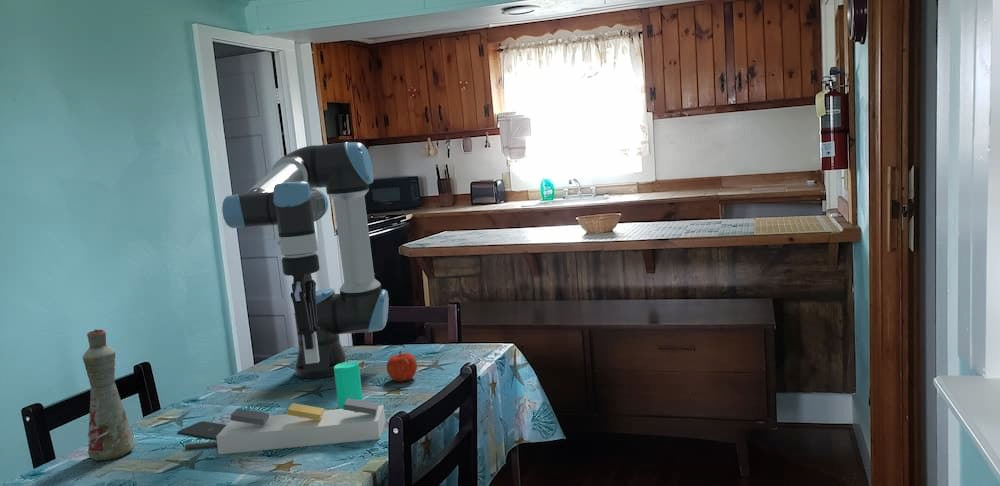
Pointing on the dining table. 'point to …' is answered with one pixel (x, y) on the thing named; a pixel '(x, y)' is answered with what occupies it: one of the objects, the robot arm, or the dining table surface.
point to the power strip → (298, 431)
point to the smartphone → (203, 430)
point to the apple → (401, 367)
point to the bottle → (105, 403)
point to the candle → (347, 382)
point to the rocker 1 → (249, 416)
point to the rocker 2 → (305, 411)
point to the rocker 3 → (361, 406)
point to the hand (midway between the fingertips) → (312, 362)
